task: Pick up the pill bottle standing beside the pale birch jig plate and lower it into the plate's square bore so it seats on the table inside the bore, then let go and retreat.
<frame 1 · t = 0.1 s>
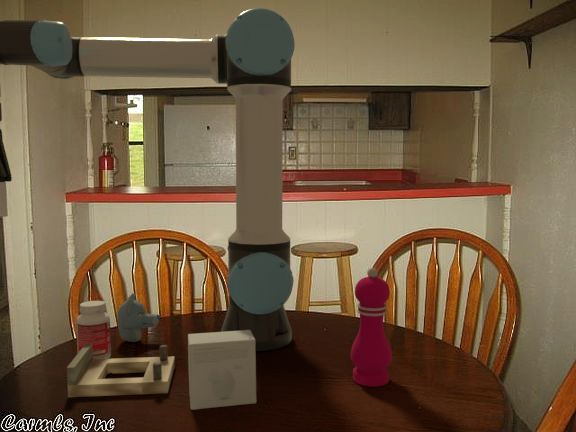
pill bottle: (94, 359, 109), on the table
wolf head: (139, 342, 119), on the table
pepper mill: (370, 381, 98), on the table
skincare box: (222, 400, 90), on the table
jig: (125, 380, 98), on the table
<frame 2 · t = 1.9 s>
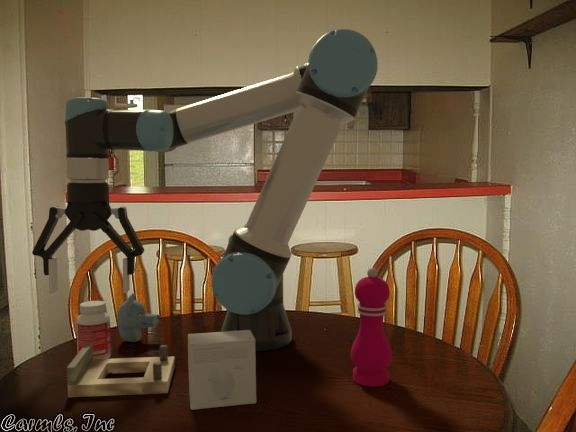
hand: (90, 291, 107), 13 cm above the table, fingers open, 13 cm apart
nothing on the table moved.
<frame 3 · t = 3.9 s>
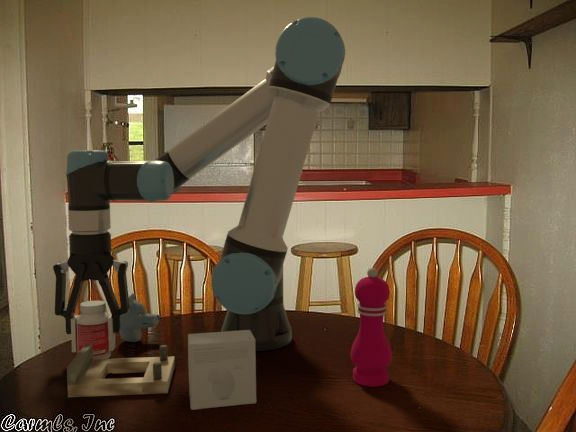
hand: (94, 349, 108), 2 cm above the table, fingers closed on pill bottle, 6 cm apart
pill bottle: (94, 359, 109), on the table, touching gripper
everything else where it was.
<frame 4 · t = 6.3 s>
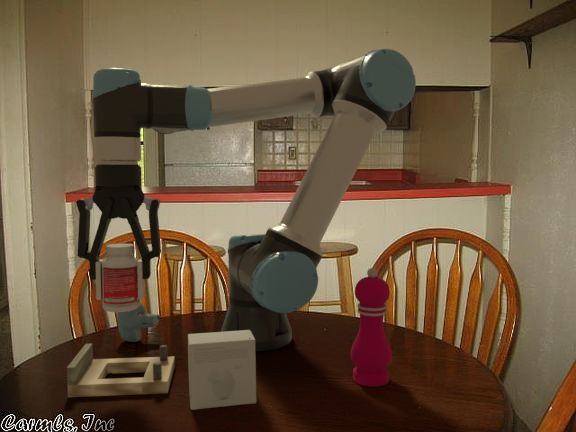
hand: (121, 297, 96), 15 cm above the table, fingers closed on pill bottle, 6 cm apart
pill bottle: (121, 309, 96), point 13 cm above the table, touching gripper
everything else where it was.
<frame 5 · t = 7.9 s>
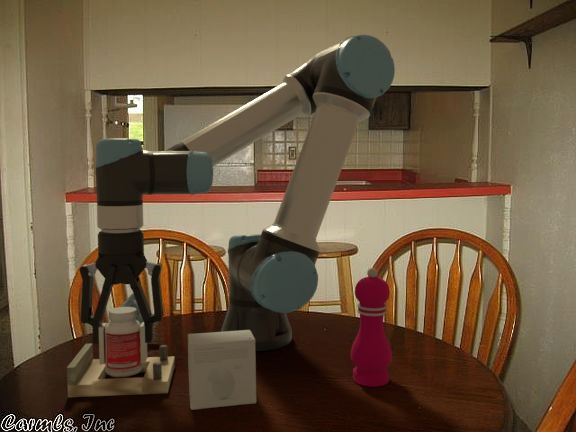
hand: (123, 360, 97), 4 cm above the table, fingers closed on pill bottle, 6 cm apart
pill bottle: (124, 372, 97), point 2 cm above the table, touching gripper
everything else where it was.
when the fingers open (3 cm above the table, at t = 9.0 s): pill bottle drops 1 cm, resting in jig.
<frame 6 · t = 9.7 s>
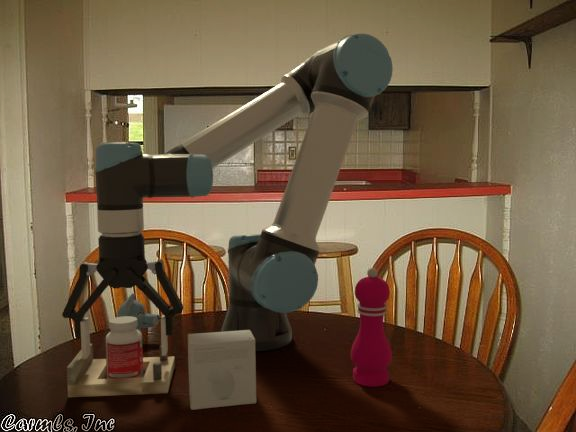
hand: (125, 354, 97), 5 cm above the table, fingers open, 13 cm apart
pill bottle: (125, 382, 98), resting in jig
everything else where it was.
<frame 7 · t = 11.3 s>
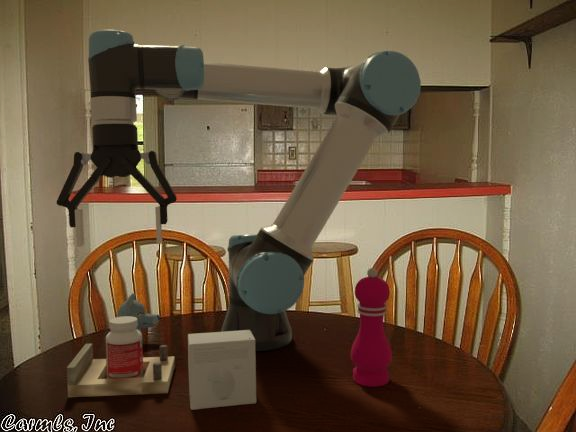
hand: (120, 244, 99), 24 cm above the table, fingers open, 13 cm apart
nothing on the table moved.
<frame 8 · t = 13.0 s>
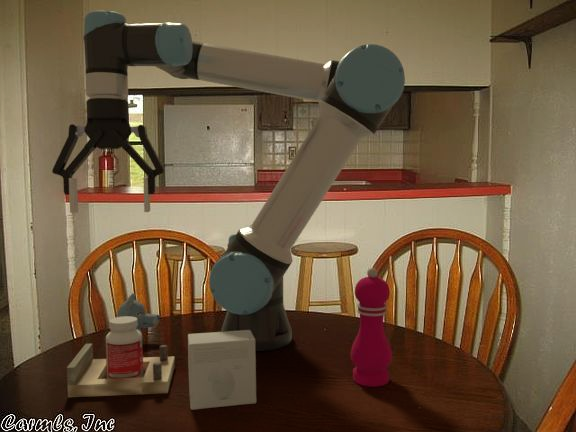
hand: (111, 212, 106), 29 cm above the table, fingers open, 13 cm apart
nothing on the table moved.
at the end: pill bottle 0.0 cm from the jig (horizontally); pill bottle resting in jig; pill bottle tilted 0° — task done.
